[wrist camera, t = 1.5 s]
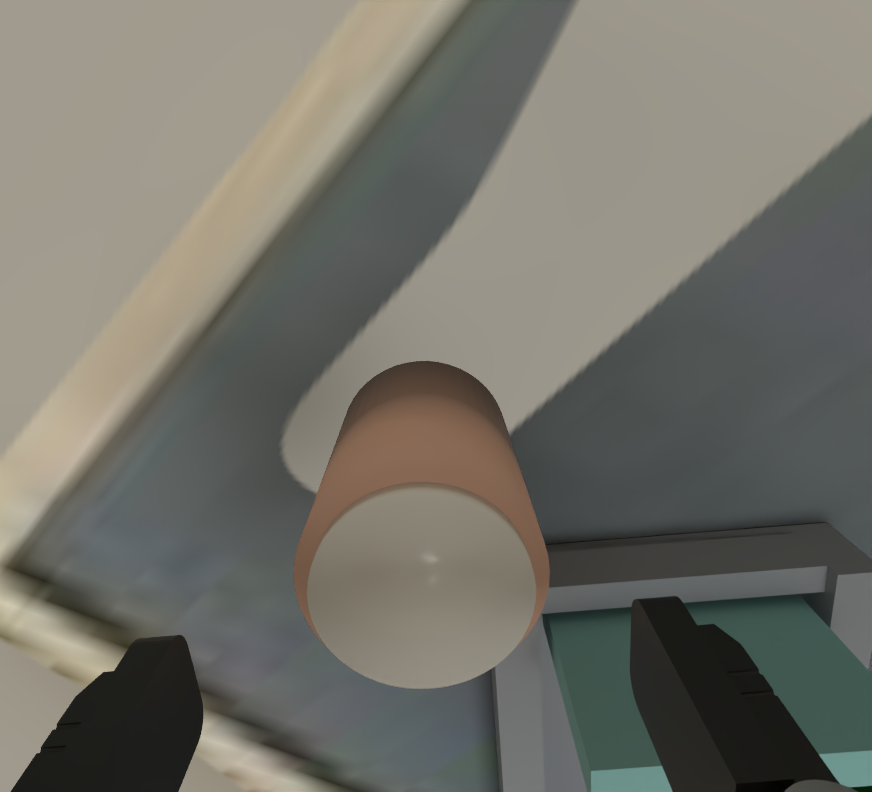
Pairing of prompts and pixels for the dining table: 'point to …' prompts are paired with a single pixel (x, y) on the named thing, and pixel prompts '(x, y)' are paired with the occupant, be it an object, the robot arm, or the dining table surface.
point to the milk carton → (863, 788)
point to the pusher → (768, 648)
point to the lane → (661, 577)
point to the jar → (422, 534)
